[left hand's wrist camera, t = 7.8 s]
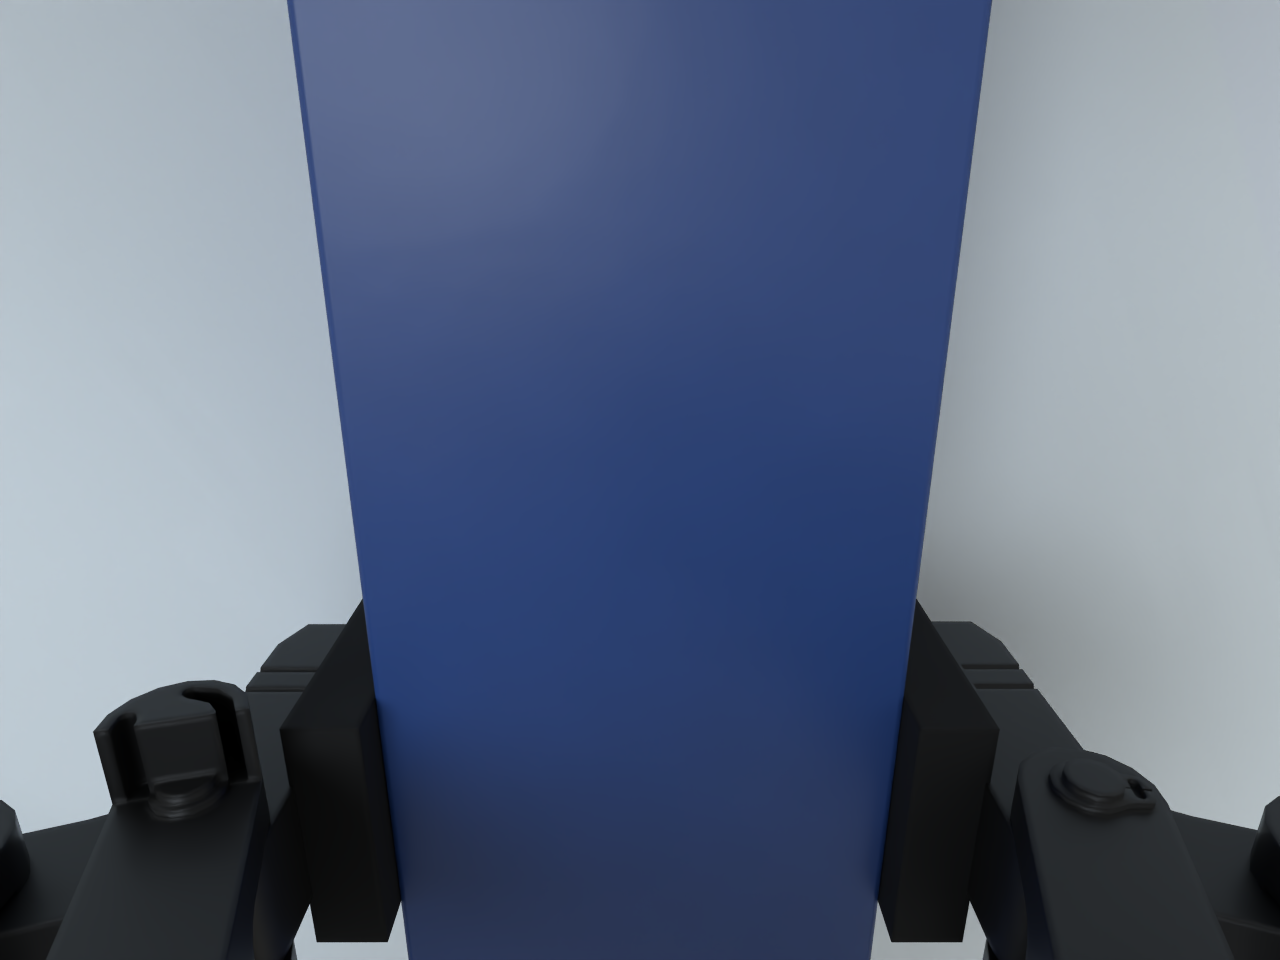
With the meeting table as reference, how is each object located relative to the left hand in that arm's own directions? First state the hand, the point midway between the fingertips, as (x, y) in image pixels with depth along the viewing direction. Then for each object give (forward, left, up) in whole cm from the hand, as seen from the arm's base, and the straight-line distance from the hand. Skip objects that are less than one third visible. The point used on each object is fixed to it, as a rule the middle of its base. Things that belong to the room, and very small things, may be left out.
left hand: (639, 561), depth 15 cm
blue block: (+3, -1, -2) cm, 4 cm away
